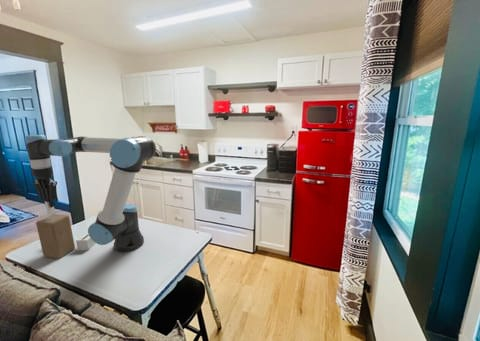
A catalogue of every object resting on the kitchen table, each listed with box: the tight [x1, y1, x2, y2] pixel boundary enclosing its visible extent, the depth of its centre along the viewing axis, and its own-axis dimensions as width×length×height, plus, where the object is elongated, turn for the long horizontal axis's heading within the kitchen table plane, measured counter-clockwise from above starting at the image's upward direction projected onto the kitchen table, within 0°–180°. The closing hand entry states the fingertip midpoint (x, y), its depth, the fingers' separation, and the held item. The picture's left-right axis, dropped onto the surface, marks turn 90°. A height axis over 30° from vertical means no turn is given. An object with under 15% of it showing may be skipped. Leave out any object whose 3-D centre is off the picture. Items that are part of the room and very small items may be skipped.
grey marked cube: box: [75, 234, 97, 251], centre depth 126 cm, size 6×6×6 cm
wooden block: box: [35, 213, 76, 260], centre depth 119 cm, size 10×10×20 cm
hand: (51, 212), depth 116 cm, fingers closed
